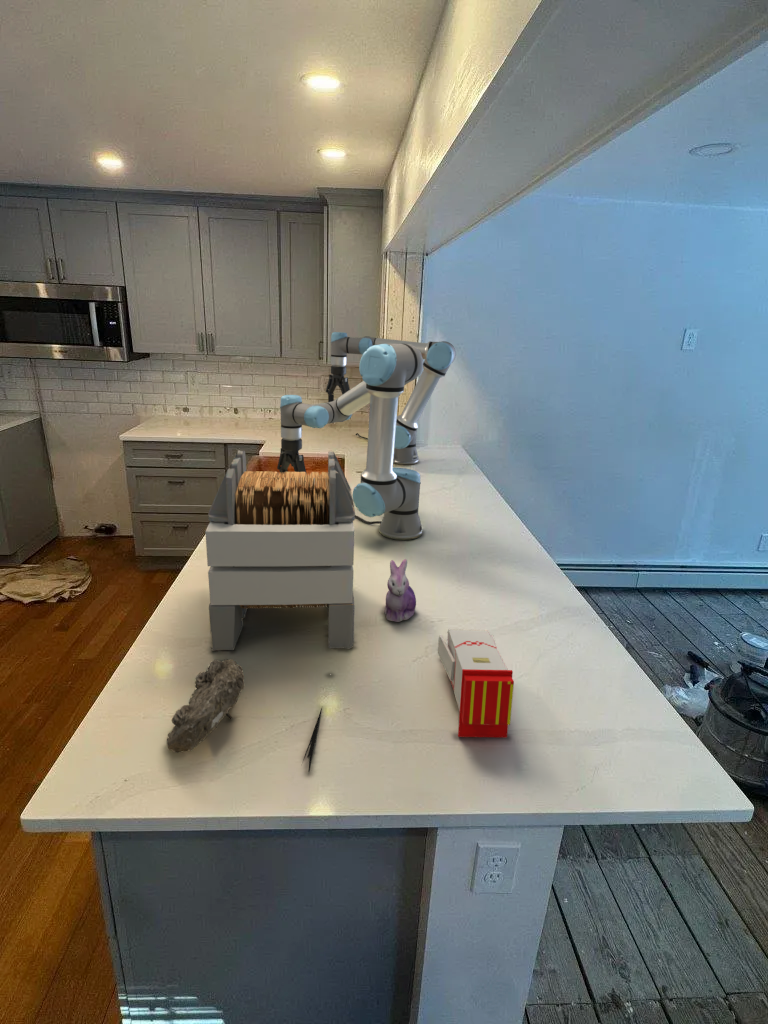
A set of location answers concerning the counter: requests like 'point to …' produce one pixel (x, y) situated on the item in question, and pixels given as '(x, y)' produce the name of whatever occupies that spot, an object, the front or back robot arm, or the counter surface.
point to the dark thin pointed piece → (313, 740)
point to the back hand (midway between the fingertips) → (337, 410)
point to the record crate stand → (281, 548)
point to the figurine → (399, 594)
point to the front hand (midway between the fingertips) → (292, 494)
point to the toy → (478, 682)
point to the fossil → (206, 705)
